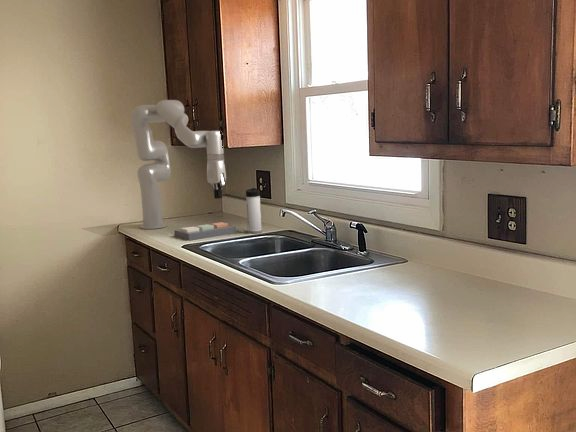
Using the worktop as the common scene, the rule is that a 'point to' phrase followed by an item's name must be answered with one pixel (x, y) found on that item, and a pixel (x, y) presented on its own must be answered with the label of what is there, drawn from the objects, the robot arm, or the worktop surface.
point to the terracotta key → (219, 225)
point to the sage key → (205, 227)
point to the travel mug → (253, 210)
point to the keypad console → (205, 233)
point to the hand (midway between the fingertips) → (218, 198)
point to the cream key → (189, 229)
